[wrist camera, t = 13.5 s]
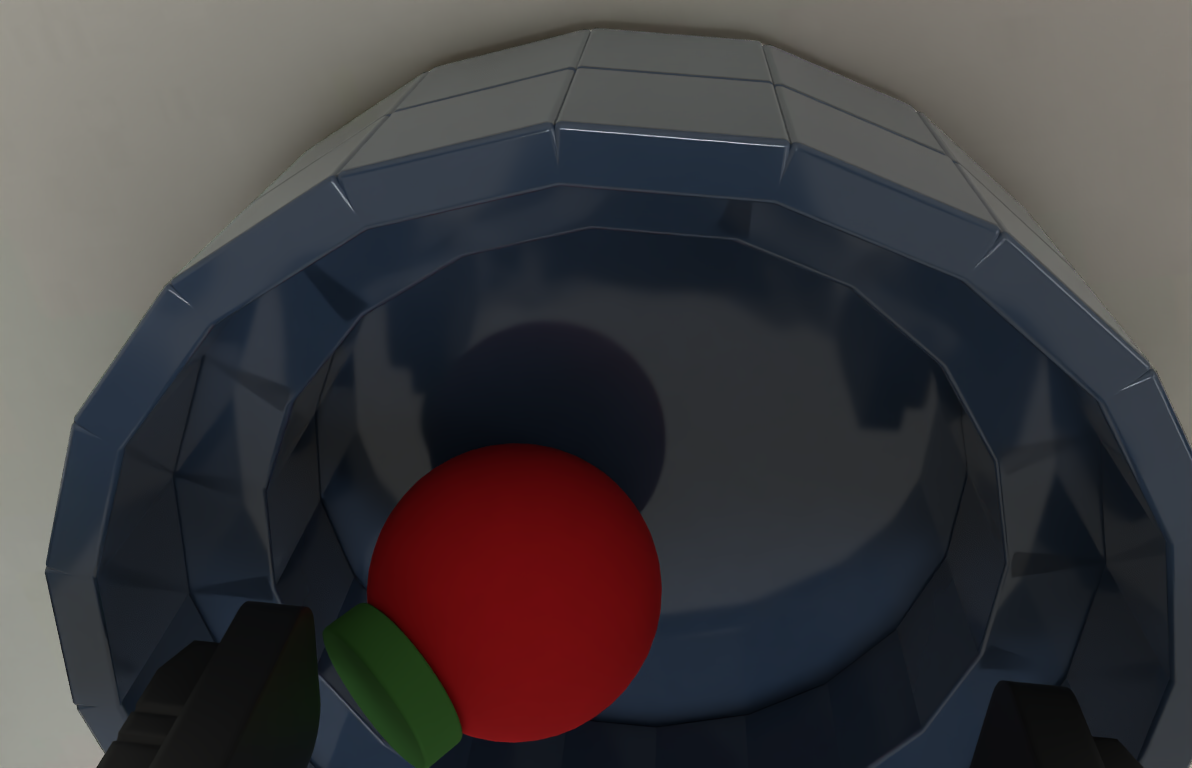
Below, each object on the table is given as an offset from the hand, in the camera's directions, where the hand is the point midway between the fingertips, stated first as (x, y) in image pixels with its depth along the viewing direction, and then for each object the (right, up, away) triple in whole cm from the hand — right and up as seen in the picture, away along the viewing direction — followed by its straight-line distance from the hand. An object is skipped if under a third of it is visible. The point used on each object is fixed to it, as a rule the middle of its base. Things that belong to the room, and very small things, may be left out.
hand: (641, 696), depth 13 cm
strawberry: (0, +2, +3) cm, 4 cm away
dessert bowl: (0, +2, +4) cm, 5 cm away
